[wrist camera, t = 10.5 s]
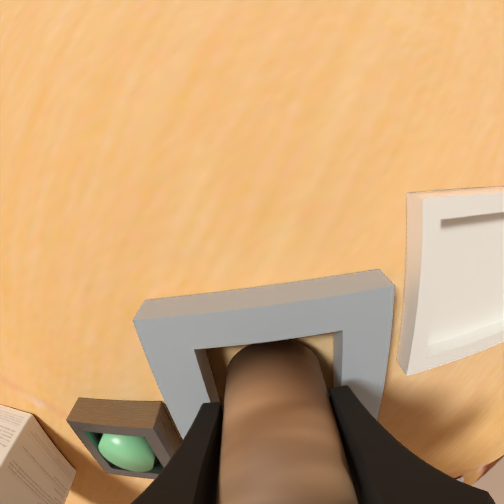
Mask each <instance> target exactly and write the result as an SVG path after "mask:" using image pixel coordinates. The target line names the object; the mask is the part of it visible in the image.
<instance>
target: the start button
mask: <svg viewBox="0 0 504 504" xmlns="http://www.w3.org/2000/svg"><path fill="white" fill-rule="evenodd" d="M98 448H99V451H100V453H101V454H102V455H103V456H104V457H105V458H106V459H107V460H108V461H110V462H111V463H113V464H114V465H116V466H118V467H121V468H123V469H126V470H130V471H135V472H146V471H149V470H151V469H152V468H153V465H154V461H155V457H156V455H155V453H154V452H153V450H152V448H151V447H150V445H149V444H148V442H147V440H146V439H145V437H137V436H124V435H114V434H105V433H103V436H102V438H101V440H100V443H99V446H98Z"/></svg>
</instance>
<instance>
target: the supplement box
mask: <svg viewBox="0 0 504 504" xmlns="http://www.w3.org/2000/svg"><path fill="white" fill-rule="evenodd" d="M76 473H77V472H76V470H75V469H74V468H73V467H72V466H71V465H70V463H69V462H68V461H67V460H66V459H65V457H64V456H63V455H62V454H61V453H60V451H59V450H58V449H57V448H56V446H55V445H54V444H53V442H52V441H51V440H50V438H49V437H48V436H47V434H46V433H45V432H44V430H43V429H42V427H41V426H40V425H39V423H38V422H37V420H36V419H35V417H34V416H33V415H32V414H30V413H27V412H23V411H20V410H17V409H13V408H10V407H7V406H3V405H1V404H0V504H64V503H65V501H66V498H67V496H68V493H69V490H70V488H71V485H72V483H73V480H74V478H75V475H76Z"/></svg>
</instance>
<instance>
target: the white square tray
mask: <svg viewBox="0 0 504 504" xmlns="http://www.w3.org/2000/svg"><path fill="white" fill-rule="evenodd" d="M406 196H407V255H406V277H405V292H404V304H403V315H402V324H401V333H400V341H399V348H398V355H397V362H398V363H399V365H400V367H401V368H402V370H403V372H404V373H405V375H406V376H409V375H412V374H416V373H419V372H422V371H426V370H429V369H432V368H435V367H438V366H441V365H444V364H447V363H450V362H453V361H456V360H459V359H462V358H464V357H467V356H470V355H472V354H475V353H477V352H480V351H483V350H485V349H488V348H490V347H492V346H495V345H497V344H500V343H502V342H504V186H498V187H479V188H463V189H448V190H435V191H422V192H410V193H406Z"/></svg>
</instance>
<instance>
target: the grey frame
mask: <svg viewBox="0 0 504 504" xmlns="http://www.w3.org/2000/svg"><path fill="white" fill-rule="evenodd" d="M394 292H395V285H394V284H393V283H392V282H391V281H390V280H389V279H388V278H387V277H386V276H385V275H384V274H383V272H382V271H381V270H380V269H376V270H370V271H364V272H357V273H351V274H345V275H338V276H332V277H325V278H318V279H312V280H305V281H298V282H291V283H284V284H276V285H269V286H262V287H254V288H246V289H239V290H231V291H223V292H214V293H206V294H197V295H189V296H180V297H170V298H161V299H151V300H145V301H144V302H143V304H142V306H141V307H140V309H139V310H138V312H137V314H136V315H135V317H134V319H133V322H134V325H135V328H136V331H137V334H138V336H139V339H140V342H141V344H142V347H143V350H144V352H145V355H146V358H147V360H148V363H149V365H150V368H151V370H152V373H153V375H154V377H155V380H156V382H157V385H158V387H159V389H160V392H161V394H162V396H163V398H164V401H165V403H166V405H167V407H168V410H169V412H170V414H171V416H172V418H173V420H174V422H175V424H176V427H177V429H178V431H179V433H180V435H181V437H182V439H184V437H185V436H186V434H187V432H188V430H189V429H190V427H191V425H192V423H193V421H194V419H195V417H196V415H197V413H198V411H199V409H200V407H201V405H202V404H203V403H210V402H220V398H219V395H218V392H217V388H216V385H215V381H214V378H213V375H212V371H211V368H210V364H209V360H208V357H207V353H206V350H205V348H216V347H227V346H236V345H245V344H254V343H262V342H270V341H278V340H285V339H292V338H299V337H305V336H312V335H318V334H324V333H330V332H333V388H334V387H339V386H344V385H347V386H349V387H350V389H351V390H352V391H353V393H354V394H355V395H356V397H357V398H358V399H359V401H360V402H361V403H362V404H363V405H364V407H365V408H366V409H367V410H368V411H369V413H370V414H371V415H372V416H373V417H374V418H375V419H376V420H377V421H378V416H379V411H380V406H381V401H382V395H383V389H384V383H385V377H386V370H387V363H388V356H389V348H390V339H391V330H392V319H393V307H394ZM220 403H221V402H220ZM221 406H222V405H221ZM222 409H223V408H222Z"/></svg>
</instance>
